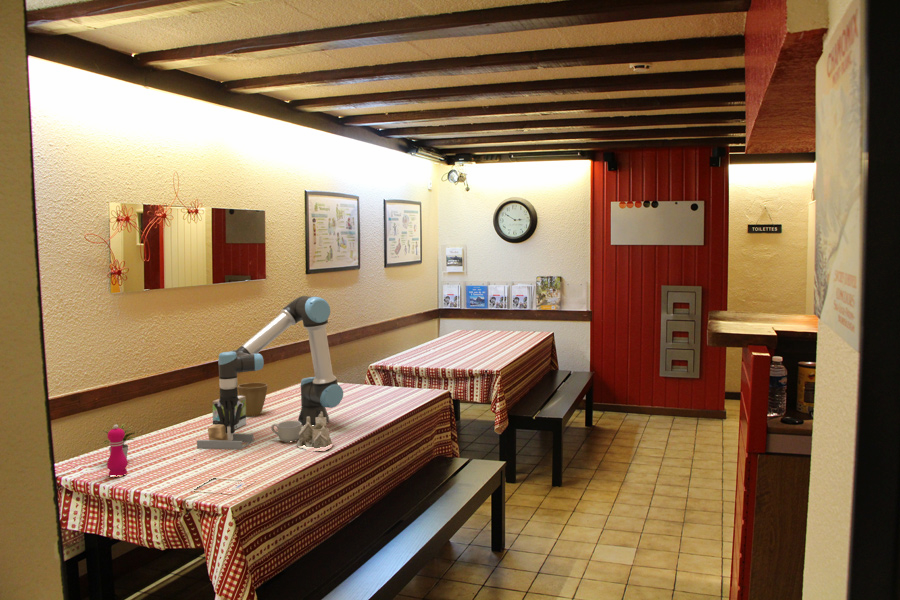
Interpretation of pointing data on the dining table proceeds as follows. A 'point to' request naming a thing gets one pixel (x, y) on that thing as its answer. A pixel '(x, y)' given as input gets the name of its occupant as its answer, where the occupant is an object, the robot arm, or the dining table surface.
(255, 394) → the plant pot
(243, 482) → the clear plastic bag
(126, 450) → the house plant
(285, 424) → the teacup
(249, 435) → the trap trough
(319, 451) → the dining table surface
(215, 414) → the tea box
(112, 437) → the pepper mill
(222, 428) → the wood block
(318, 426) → the ceramic cottage
